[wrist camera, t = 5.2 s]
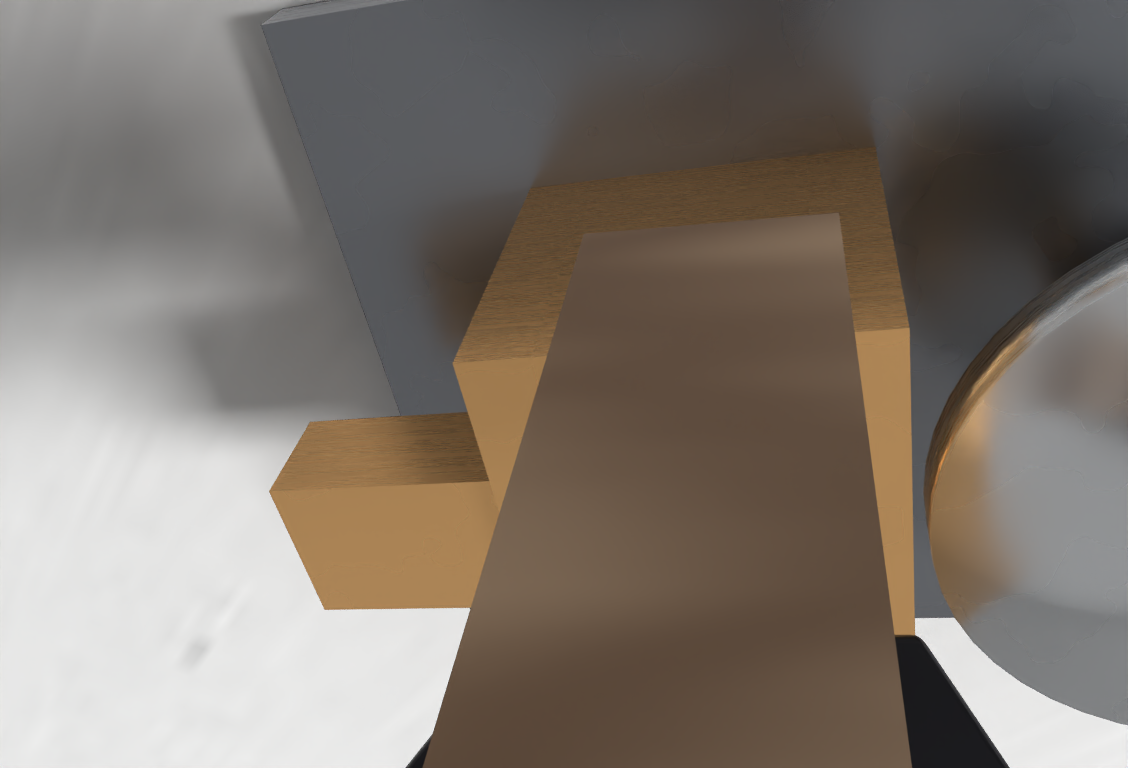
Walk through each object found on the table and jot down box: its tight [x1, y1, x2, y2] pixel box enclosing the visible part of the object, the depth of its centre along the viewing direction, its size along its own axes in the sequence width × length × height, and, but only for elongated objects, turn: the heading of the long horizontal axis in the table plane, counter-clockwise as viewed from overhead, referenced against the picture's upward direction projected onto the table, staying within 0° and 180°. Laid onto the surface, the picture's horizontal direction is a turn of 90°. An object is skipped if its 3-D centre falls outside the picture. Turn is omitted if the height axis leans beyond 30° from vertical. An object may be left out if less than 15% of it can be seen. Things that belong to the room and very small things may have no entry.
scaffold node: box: [261, 0, 1128, 725], centre depth 18 cm, size 21×16×9 cm
